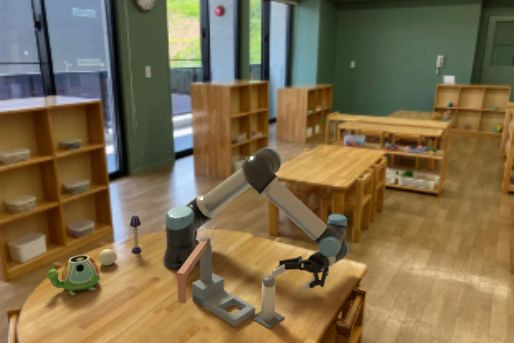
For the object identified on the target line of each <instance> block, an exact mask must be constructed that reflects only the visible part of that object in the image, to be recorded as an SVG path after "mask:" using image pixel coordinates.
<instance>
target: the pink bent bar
mask: <svg viewBox="0 0 514 343" xmlns="http://www.w3.org/2000/svg"><path fill="white" fill-rule="evenodd" d="M199 239H200V241H199V243H198V244H197V245H196V248H195V249H194V251H193V252H192V253H191V255H190V256H189V257H188V259H187V260H186V261H185V263H184V264H183V265H182V267H181V268H180V270H177V272H176V276H177V277H176V278H177V279H176V280H177V300H178V304H186V303H187V277H188V276H189V274H190V273H191V272H192V270H193V269H194V267H195V266H196V265H195V264H196V263H197V261H198V260H199V261H200V257H201V256H202V254H203V253H204V251H205V250H206V248H207V247H210V246H211V247H212V244H211V237H209V236H202V237H200V238H199Z"/></svg>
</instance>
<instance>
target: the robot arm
mask: <svg viewBox="0 0 514 343" xmlns="http://www.w3.org/2000/svg"><path fill="white" fill-rule="evenodd" d="M281 166H282V157H281V156H280V153H279V152H278V151H277V150H276V149H274V148H272V147H267V146H266V147H261V148H259V149H258V150H257V151H256V152H254V153H253V154H251V155H249V156H248V157H247V158H246V159H245V160H244V161H242V162H241V168H239V169H237V171H235V172H234V173H233V174H231V175H230V176H228V177H227V178H226V179H224V180H223V181H222V182H221V183H219V184H218V185H217V186H215V187H214V188H213V189H211V190H210V191H209V192H207V193H206V194H200V195H198V196H196V197H195V198H194V199H193V200H191V201H189V203H187V204H185V205H178V206H176V207H175V206H174V207H172V208H170V209H169V210H168V211H167V212H166V213H165V222H164V223H165V233H166V248H165V252H164V255H163V264H164V266H165V267H166V268H168V269H171V270H175V271H176V270H177V271H179V270H180V268H181V267H182V265H183V264H184V263H185V261H186V260H187V259H188V257H189V256H190V255H191V253H192V252H193V251H194V249H195V248H196V247H197V245H196V243H195V238H194V232H195V231H196V230H197V231H198V230H199V229H200V228H201V227H202V226H204V225H205V224H206V223H208V222H210V221H211V220H212V219H213V218H215V217H216V215H217V211H219V210H220V209H222V208H223V207H224V206H226V205H227V204H228V203H230V202H231V201H233V200H234V199H235V198H237V197H238V196H239V195H241V194H243V192H245V191H247V190H248V189H249V188H252V189H253V190H254V191H256V193H257V194H259V195H260V196H265V198H267V199H268V200H269V201H271V203H272V204H274V205H275V206H276V207H277V208H278V209H279V210H280V211H281V212H282V213H283V214H284V215H286V217H288V218H289V219H290V220H291V221H292V222H293V223H294V224H295V225H296V226H297V227H299V228H300V229H301V230H302V231H303V232H304V233H305V234H306V235H307V236H308V237H310V238H311V239H312V240H313V241H314V242H315V243H316V244H317V245H318V250H317V251H315V252H314V253H312V254H310V255H309V257H308V258H306V259H303V257H302V256H297V257H293V258H288V259H282V260H279V261H278V266H276V267H275V268H274V269H273V270H272V271H271V276H273V277H274V278H276V277H278V276H279V275H281V274H282V273H284V272H285V271H290V270H293V271H294V270H299V271H305V272H308V273H309V274H312V275H313V277H312V278H311V279H309V280H307V281H306V282H304V283H303V284H302V285H301V293H303V294H304V293H305V292H307V291H308V290H310V289H313V288H315V287H316V286H320V287H321V288H324V287H325V283H326V279H327V277H328V276H329V272H330V267H332V266H333V265H335V264H336V263H338V262H340V261H342V260H343V259H345V258H346V257H347V256H348V255H349V253H350V247H349V244H348V243H347V242H346V236H347V227H348V218H347V217H346V216H345V215H342V214H340V213H334V214H330V215H329V216H328V217H327V222H326V223H327V224H326V223H325V222H324V221H323V220H321V218H320V217H318V216H317V215H316V214H315V213H314V212H313V211H312V210H311V209H310V208H309V207H307V205H305V203H303V202H302V201H301V200H300V199H299V198H298V197H297V196H296V195H294V193H292V191H290V189H288V188H287V187H286V186H285V185H284V184H282V182H280V181H279V177H278V175H277V174H276V173H278V172H279V170H280V169H281ZM199 263H200V259H199V260H198V261H197V263H196V264H195V266H197V265H198V264H199ZM320 273H321V278H320V276H319V274H320Z"/></svg>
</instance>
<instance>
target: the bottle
mask: <svg viewBox="0 0 514 343" xmlns="http://www.w3.org/2000/svg"><path fill="white" fill-rule="evenodd" d="M276 286H277V284H276V277H273V276H272V274H271V275H269V274H267V275H264V276H263V277H262V282H261V302H260V303H261V309H260V311H261V318H262V319H263V320H264V321H272V320H274V318H275V312H276V310H275V309H276Z"/></svg>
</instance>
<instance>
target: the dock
mask: <svg viewBox="0 0 514 343" xmlns="http://www.w3.org/2000/svg"><path fill="white" fill-rule="evenodd" d="M212 249H213V248H212V245H211V246H210V247H207V248H206V250H205V251H204V253H203V254H202V256H201V257H200V258H199V275H200V276H199V278H200V279H197V280H196V281H194V282H192V283H191V288H192V290H191V292H192V293H191V295H192V301H193V302H195V303H197V304H198V305H199V306H201V307H203V308H204V309H206V310H207V311H209V312H211V314H214V315H215V316H217V317H219V318H220V319H222V320H223V321H224V322H225V321H226V323H228V324H230V325H231V326H233V327H237V326H238V325H239V324H241V323H243V322H244V321H246V320H247V319H249V318H250V317H253V316H254V315H256V306H254V305H252V304H251V303H248V302H247V301H245V300H244V299H241V298H239V297H237V296H236V295H235V294H232V293H231V292H229V291H227V290H225V287H224V286H225V284H224V283H225V282H224V281H225V278H224V277H221V276H220V275H217V274H216V273H214V272H213V266H212V265H213V264H212V263H213V260H212V253H213V252H212ZM233 305H234V306H236V307H237V308H239V310H238V311H237V312H235V313H234V314H232V313H231V312H228V311H227V310H226V309H227V308H229V307H231V306H233Z"/></svg>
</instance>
